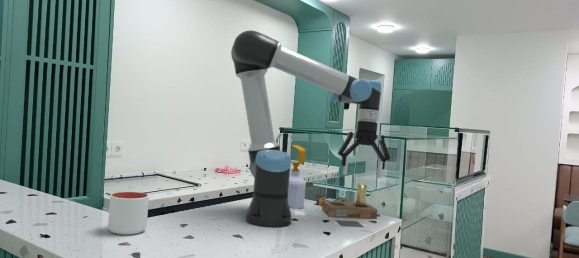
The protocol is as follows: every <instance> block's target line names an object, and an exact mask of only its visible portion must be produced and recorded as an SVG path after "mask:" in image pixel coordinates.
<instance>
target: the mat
mask: <svg viewBox="0 0 579 258" xmlns="http://www.w3.org/2000/svg"><path fill="white" fill-rule="evenodd" d="M335 222H337V224H338V225H339V226H340V227H348V228H349V227H352V228H365V227H364V225H362V224H361V223H360V222H359V221H358V220H339V219H335Z"/></svg>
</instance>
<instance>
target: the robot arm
mask: <svg viewBox="0 0 579 258" xmlns="http://www.w3.org/2000/svg"><path fill="white" fill-rule="evenodd" d="M230 54H231V60H232V62H233V66H234V71H235V76H236V77H238V78H239V79H240V82H241V83H240V84H241V89H242V96H243V100H244V107H245V112H246V119H247V126H248V131H249V138H250V143H251V144H250V146H249V147H248V149H247V150H248V158H249V170H250V174H251V175H252V176H253V179H254V180H253V194H252V198H251V201H250V204H249V207H248V208H247V211H246V216H245V221H246V222H248V223H250V224H252V225H256V226H261V227H271V228H273V227H275V228H276V227H279V228H280V227H286V226H289V225H291V223H292V212H291V208H289V203H288V189H289V177H290V175H291V168H292V167H291V166H292V163H291V162H292V161H291V160H292V159H291V157H292V156H291V155H290V154H289V153H288V152H286V151H281V146H280V143H278V142H277V141H276V140H275V134H274V128H273V122H272V121H273V120H272V116H271V109H270V105H269V103H270V101H269V97H268V92H267V91H268V90H267V84H266V79H265V78H266V77H265V75H266V74H267V73H268V69H272V68H274V69H277V70H278V71H281V72H283V73H287V74H288V75H290V76H293V77H295V78H298V79H300V80H303V81H305V82H308V83H311V84H312V85H315V86H317V87H319V88H322V89H324V90H327V91H329V100H330V101H331V102H336V103H342V104H343V103H346V104H352V105H353V104H355V105H358V107H359V108H358V116H357V119H358V121H357V125H356V132H353V131H349V132H348V133H347V137H346V138H345V140H344V141H343V144H342V145H341V147H340V148H339V150H338V152H337V155H338V156H340V157H341V166H343V169H342V175H343V176H347V175H348V166H349V165H348V164H349V157H348V156H349V155H350V154H351V153H352V152H353V151H354V150H355V149H356V148H357V147H358V146H360V145H361V146H371V147H372V149H373V150H374V152H375V153H376V155H377V157H378V158H379V159H380V160H378V164H377V171H376V178H378V179H381V178H382V172H383V170H385V168H386V161H390V160H391V156H390V153H389V149H388V147H387V145H386V142H385V141H386V140H385V135H384V134H379V135H378V134H377V132H378V121H379V115H380V113H379V112H380V103H381V95H382V83H381V81H379V80H375V79H366V78H365V79H364V78H356V77H354V76H352V75H349V74H347V73H345V72H342V71H341V70H339V69H338V70H337V69H336V68H333V67H331V66H328V65H326V64H324V63H321V62H319V61H318V60H315V59H313V58H310V57H308V56H306V55H303V54H301V53H299V52H298V51H294V50H291V49H290V48H287V47H285V46H282V44H281V41H279V40H277V39H274V38H272V37H270V36H268V35H266V34H264V33H261V32H259V31H256V30H244V31H242V32H241V33H239V34H238V35H237V36H236V37H235V39H234V42H233V44H232V47H231V52H230ZM354 137H355V138H356V140H355V141H354V142H353V143H352V144H351V145H350V146H349V144H350V143H351V142H352V140H353V139H354ZM376 141H379V145H380V148H381V150H380V148H379V147H378V144H377V143H376ZM348 146H349V147H348Z"/></svg>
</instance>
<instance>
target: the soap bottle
mask: <svg viewBox="0 0 579 258" xmlns="http://www.w3.org/2000/svg"><path fill="white" fill-rule="evenodd" d="M291 147H292V148H294V149H296V150H298V161H291V164H292V167H293V168H292V169H290V177H289V189H288V203H289V208H290V209H293V210H294V209H295V210H296V209H297V210H299V209H303V208H304V207H305V196H306V187H307V186H306V185H307V184H306V183H307V182H306V180H305V179H304V178H303V177H302V176H300V169H298V167H300V165H303V164H305V162H306V149H305V148H304V147H301V146H300V145H296V144H292V145H291Z"/></svg>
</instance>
